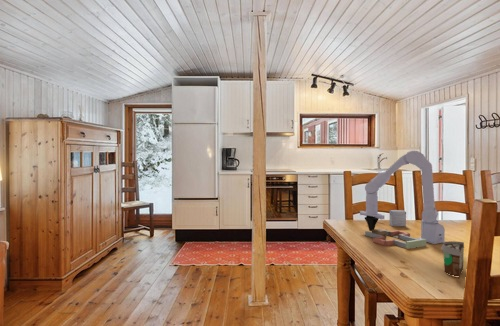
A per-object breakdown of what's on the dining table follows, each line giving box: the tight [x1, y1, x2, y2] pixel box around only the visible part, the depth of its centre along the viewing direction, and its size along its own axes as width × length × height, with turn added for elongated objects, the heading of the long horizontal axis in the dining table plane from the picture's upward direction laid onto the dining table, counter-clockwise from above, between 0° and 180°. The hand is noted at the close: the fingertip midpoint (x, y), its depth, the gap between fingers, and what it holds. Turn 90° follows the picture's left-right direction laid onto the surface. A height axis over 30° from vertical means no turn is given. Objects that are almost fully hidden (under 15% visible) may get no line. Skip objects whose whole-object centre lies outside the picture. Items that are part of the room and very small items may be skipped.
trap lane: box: [364, 228, 427, 250], centre depth 157 cm, size 26×22×3 cm
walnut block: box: [371, 228, 387, 237], centre depth 166 cm, size 4×5×3 cm
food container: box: [440, 240, 465, 278], centre depth 115 cm, size 12×6×10 cm, turn 141°
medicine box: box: [388, 209, 407, 227], centre depth 188 cm, size 8×4×9 cm, turn 84°
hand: (371, 230), depth 170 cm, fingers closed
